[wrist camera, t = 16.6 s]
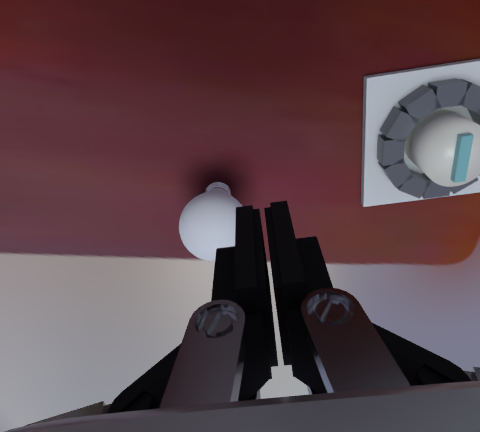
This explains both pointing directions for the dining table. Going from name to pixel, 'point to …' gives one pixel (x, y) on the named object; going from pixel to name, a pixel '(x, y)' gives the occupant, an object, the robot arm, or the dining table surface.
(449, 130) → the knob
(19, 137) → the dining table surface
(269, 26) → the dining table surface
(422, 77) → the segmented ring plate
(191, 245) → the light bulb
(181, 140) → the dining table surface
